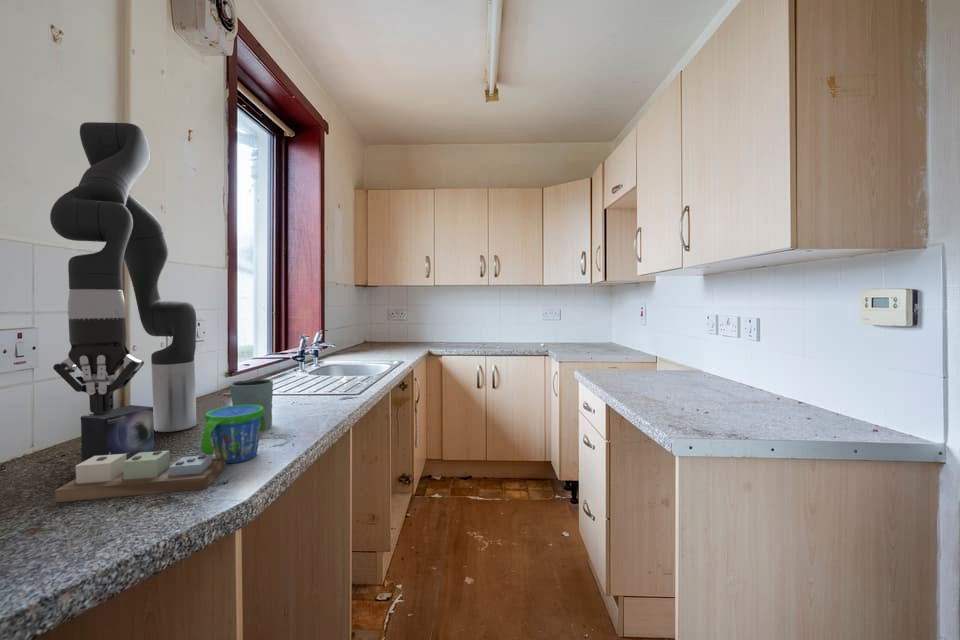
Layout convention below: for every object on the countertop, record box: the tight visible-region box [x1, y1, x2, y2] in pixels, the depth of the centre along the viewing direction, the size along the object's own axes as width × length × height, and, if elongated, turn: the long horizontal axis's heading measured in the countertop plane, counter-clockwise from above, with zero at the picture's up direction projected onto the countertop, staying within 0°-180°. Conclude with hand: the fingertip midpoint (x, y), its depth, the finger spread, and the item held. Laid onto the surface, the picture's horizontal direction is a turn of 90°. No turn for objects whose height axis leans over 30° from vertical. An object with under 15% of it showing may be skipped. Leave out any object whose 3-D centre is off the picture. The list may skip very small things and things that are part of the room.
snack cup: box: [200, 405, 267, 464], centre depth 91 cm, size 16×10×10 cm
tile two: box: [123, 450, 171, 480], centre depth 79 cm, size 5×5×4 cm
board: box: [54, 458, 226, 503], centre depth 79 cm, size 10×22×2 cm, turn 102°
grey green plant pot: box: [229, 378, 274, 429], centre depth 115 cm, size 10×10×12 cm
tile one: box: [75, 454, 127, 484], centre depth 77 cm, size 5×5×4 cm
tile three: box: [169, 454, 213, 476], centre depth 80 cm, size 5×5×4 cm
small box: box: [80, 404, 155, 463], centre depth 91 cm, size 11×6×10 cm, turn 168°
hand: (102, 414), depth 77 cm, fingers closed
